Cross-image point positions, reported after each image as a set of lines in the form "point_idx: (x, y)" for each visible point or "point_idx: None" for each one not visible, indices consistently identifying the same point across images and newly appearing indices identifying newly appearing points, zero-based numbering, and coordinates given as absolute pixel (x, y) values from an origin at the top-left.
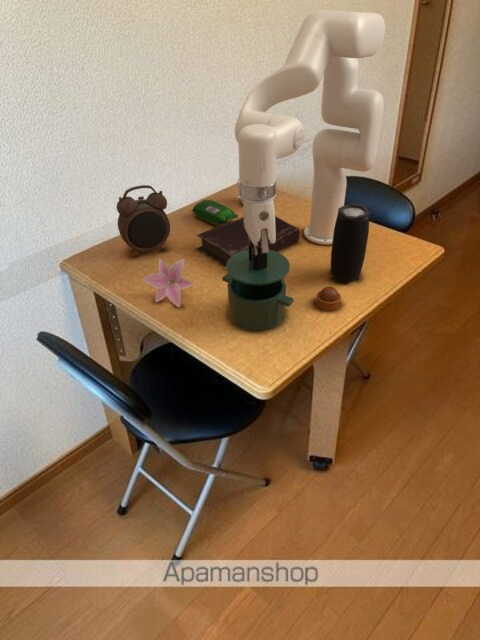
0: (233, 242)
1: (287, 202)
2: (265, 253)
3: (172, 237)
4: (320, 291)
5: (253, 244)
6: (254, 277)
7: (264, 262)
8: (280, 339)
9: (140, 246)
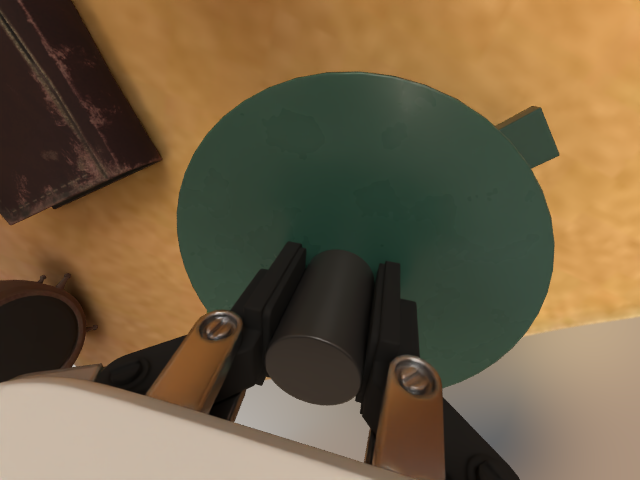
0: (31, 137)
1: None
2: (454, 410)
3: (15, 239)
4: None
5: (257, 377)
6: (444, 342)
7: (416, 319)
8: (537, 172)
9: (75, 335)
